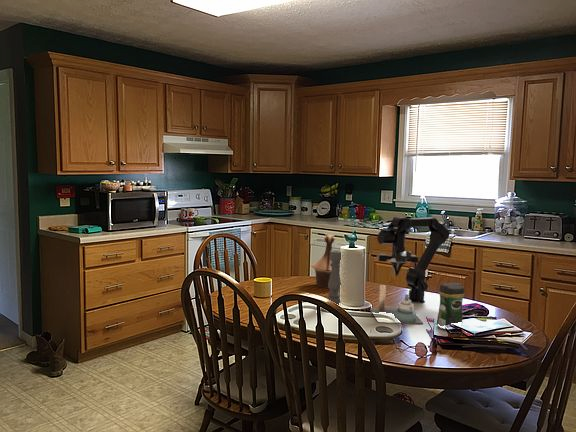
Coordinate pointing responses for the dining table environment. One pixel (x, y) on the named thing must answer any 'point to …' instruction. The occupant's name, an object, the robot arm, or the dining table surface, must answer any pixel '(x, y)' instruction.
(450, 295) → the coffee jar
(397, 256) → the robot arm
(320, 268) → the brown tall piece
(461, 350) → the dining table surface
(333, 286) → the candle holder
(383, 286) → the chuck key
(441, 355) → the dining table surface
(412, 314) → the teal round piece
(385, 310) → the mat
